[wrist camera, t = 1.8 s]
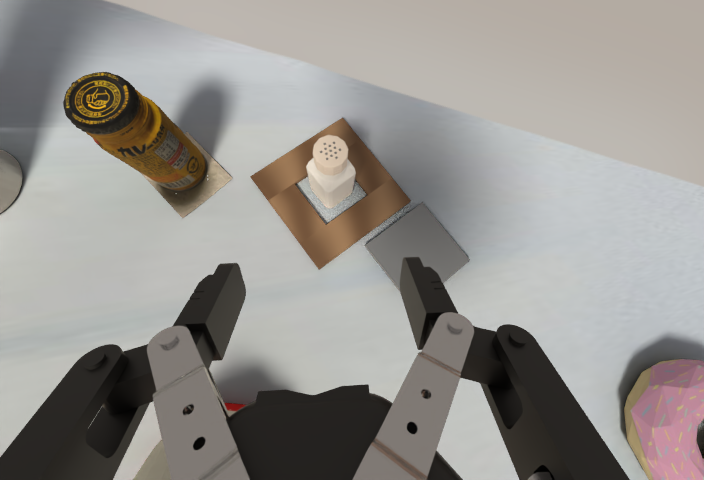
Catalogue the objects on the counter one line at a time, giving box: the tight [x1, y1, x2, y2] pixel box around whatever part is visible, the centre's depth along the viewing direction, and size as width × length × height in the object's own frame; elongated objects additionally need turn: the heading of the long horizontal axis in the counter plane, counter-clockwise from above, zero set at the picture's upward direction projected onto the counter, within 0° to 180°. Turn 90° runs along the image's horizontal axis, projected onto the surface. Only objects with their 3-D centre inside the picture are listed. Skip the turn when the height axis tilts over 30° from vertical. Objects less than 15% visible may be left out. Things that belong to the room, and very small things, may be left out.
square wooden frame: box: [251, 118, 411, 269], centre depth 33 cm, size 14×14×1 cm
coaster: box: [365, 202, 470, 291], centre depth 32 cm, size 9×9×1 cm
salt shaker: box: [306, 135, 356, 209], centre depth 28 cm, size 4×4×10 cm
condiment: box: [63, 72, 232, 218], centre depth 26 cm, size 7×8×12 cm
